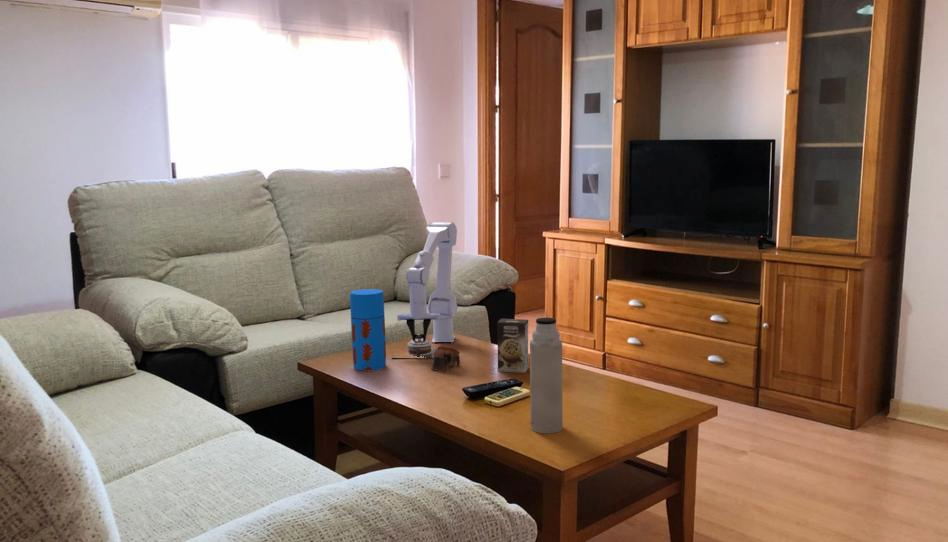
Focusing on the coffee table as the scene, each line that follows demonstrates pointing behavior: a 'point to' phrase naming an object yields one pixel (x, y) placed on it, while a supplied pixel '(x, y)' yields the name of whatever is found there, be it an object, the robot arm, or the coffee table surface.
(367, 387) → the coffee table surface
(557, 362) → the thermos bottle
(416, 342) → the silver lid with knob
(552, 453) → the coffee table surface
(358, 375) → the coffee table surface
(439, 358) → the brown animal figurine
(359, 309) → the thermos
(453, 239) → the robot arm
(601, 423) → the coffee table surface
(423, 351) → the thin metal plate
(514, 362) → the grey cardboard box
